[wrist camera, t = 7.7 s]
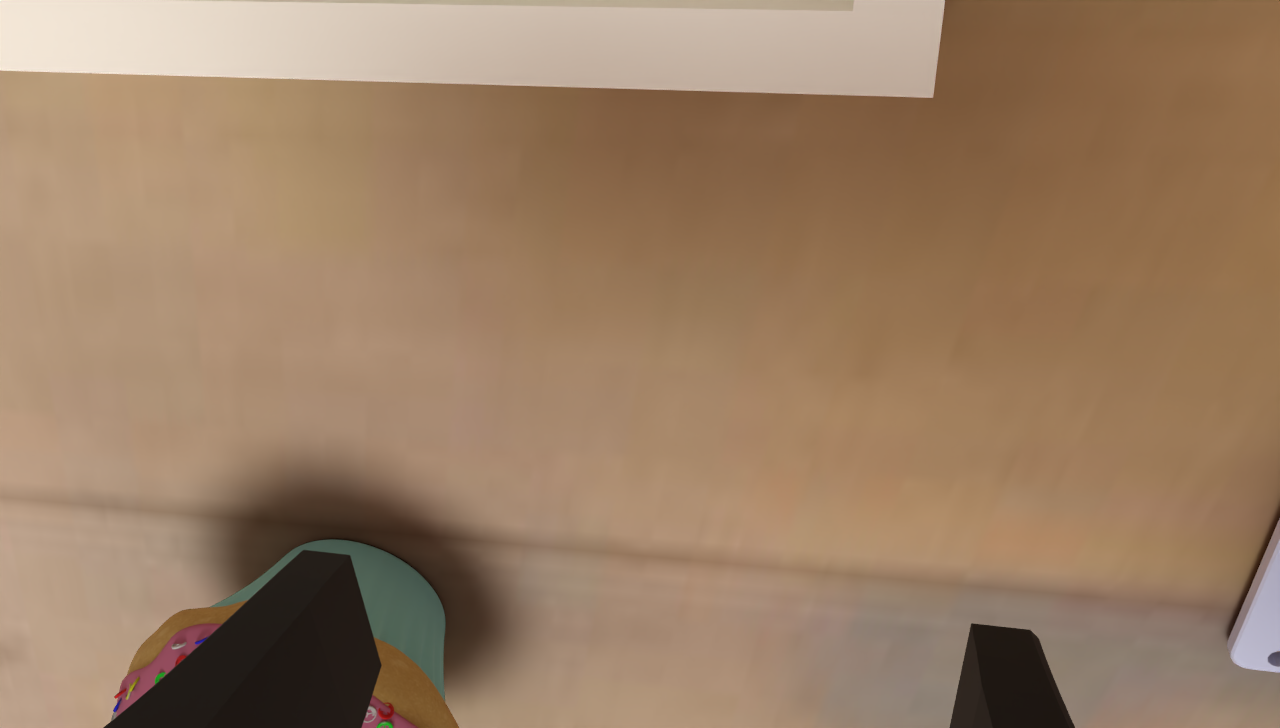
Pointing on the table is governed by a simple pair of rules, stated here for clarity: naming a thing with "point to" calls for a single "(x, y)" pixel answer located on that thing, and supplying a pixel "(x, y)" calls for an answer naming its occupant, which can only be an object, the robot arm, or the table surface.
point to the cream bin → (495, 42)
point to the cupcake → (400, 622)
